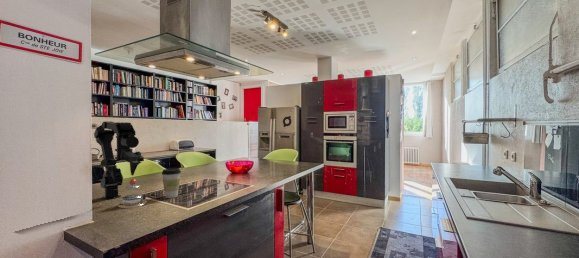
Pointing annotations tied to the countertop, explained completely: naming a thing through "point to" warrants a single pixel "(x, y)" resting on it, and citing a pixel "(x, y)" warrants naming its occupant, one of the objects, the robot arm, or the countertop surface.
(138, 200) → the press pot
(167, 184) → the coffee cup
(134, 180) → the plunger
